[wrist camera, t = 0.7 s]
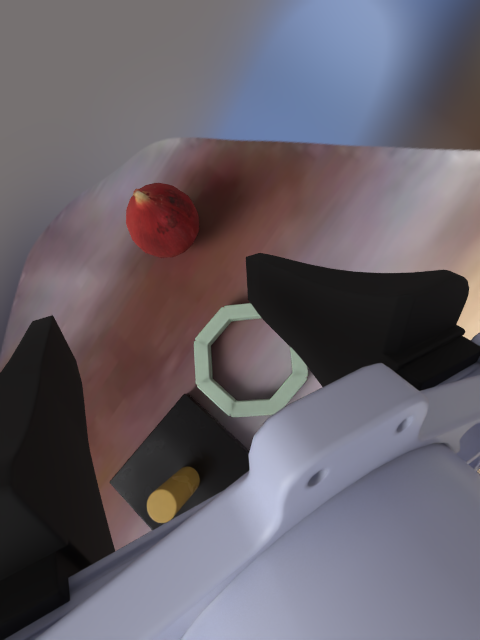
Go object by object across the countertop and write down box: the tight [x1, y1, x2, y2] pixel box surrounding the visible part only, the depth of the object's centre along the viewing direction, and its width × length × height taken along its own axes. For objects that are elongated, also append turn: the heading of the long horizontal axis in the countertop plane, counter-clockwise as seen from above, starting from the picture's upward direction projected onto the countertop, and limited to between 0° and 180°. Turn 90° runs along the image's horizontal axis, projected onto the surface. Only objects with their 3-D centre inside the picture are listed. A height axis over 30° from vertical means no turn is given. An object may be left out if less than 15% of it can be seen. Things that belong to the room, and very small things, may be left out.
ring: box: [194, 303, 308, 417], centre depth 26 cm, size 10×9×5 cm
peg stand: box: [110, 393, 250, 530], centre depth 24 cm, size 10×10×6 cm
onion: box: [126, 183, 199, 258], centre depth 27 cm, size 6×6×8 cm
